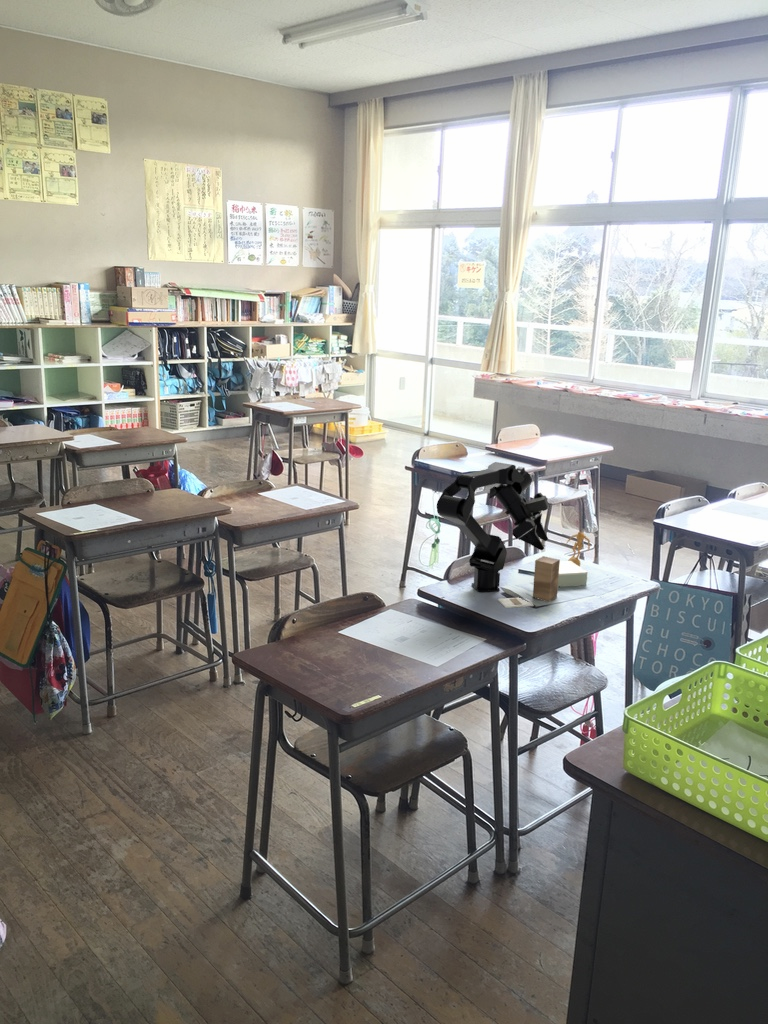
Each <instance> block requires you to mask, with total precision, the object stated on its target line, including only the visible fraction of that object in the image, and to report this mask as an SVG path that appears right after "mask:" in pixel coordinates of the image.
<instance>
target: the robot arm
mask: <svg viewBox="0 0 768 1024" xmlns="http://www.w3.org/2000/svg"><path fill="white" fill-rule="evenodd" d="M532 481H533V479H532V476H531V475H530V473H529V472H527V471H526V468H525V467H523V466H518V467H517V466H516V464H512V463H511V464H510V463H504V462H499V461H498V462H497V461H495V462H492V463H491V464H489V465H488V466H487V468H485V469H480V470H477V471H473V472H468V473H461V474H458V475H457V476H456V479H455V480H454V482H453V483H451V484H449V485H448V486H447V487H446V488H444V490H443V492H442V493H441V495H440V496H439V499H438V500H437V503H436V509H437V510H436V511H437V514H438V515H439V516H440V517H441V518H443V519H444V520H446V521H449V522H451V523H454V524H455V525H456V526H457V528H458V529H460V530H461V532H462V533H463V534H464V535H465V536H466V537H467V538H468V540H469V541H470V542H471V543H472V545H474V549H473V552H472V555H471V556H470V557H469V567H473V568H474V571H473V573H474V574H473V582H472V583H471V586H472V587H473V588H474V589H475V590H476V591H477V592H479V593H483V592H484V593H485V592H498V591H500V588H499V587H500V580H501V579H500V578H501V577H500V576H501V573H500V572H499V571H501V570H503V569H504V567H505V563H506V559H507V556H508V552H507V548H506V542H504V541H503V540H502V538H501V537H500V536H499V535H495V534H494V535H493V534H488V533H487V532H486V531H485V530H484V529H483V527H482V525H480V524H479V522H478V521H477V519H476V518H474V516H473V515H472V511H473V507H474V505H475V503H476V498H475V497H476V495H475V492H476V490H477V489H479V488H483V487H487V486H490V485H497V484H498V485H497V486H493V487H491V488H490V489H489V495H488V496H489V497H488V498H489V499H493V498H494V497H495V498H496V500H497V501H498V502H499V504H500V505H501V506H502V507H503V508H504V510H505V512H504V513H505V514H506V516H508V515H509V516H510V517H511V519H512V520H513V521H514V522H513V525H514V527H513V528H512V535H513V537H514V538H515V539H516V540H519V541H523V542H524V543H527V544H528V545H530V546H532V547H534V548H536V549H538V550H540V551H543V550H545V546H544V545H543V542H542V541H544V542H546V541H548V540H549V537H548V535H547V533H546V530H545V529H544V526H543V523H542V516H543V513H542V512H544V511H547V510H548V509H549V507H550V505H549V501H548V497H547V496H546V495H543V494H542V492H537V493H535V495H534V498H532V499H530V500H528V499H526V497H521V494H522V493H523V492H525V491H526V490H527V489H528V488H529V487H530V486H531V485H532V483H533V482H532ZM461 490H467V491H468V492H467V494H468V495H467V497H466V498H461V497H457V496H455V495H457V494H458V493H459V492H460V491H461Z"/></svg>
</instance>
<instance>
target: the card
mask: <svg viewBox="0 0 768 1024" xmlns="http://www.w3.org/2000/svg"><path fill="white" fill-rule="evenodd" d="M497 601H498V602H499V603H500V604H501V605H502V606H503V607H504V608H506V609H509V608H510V609H511V608H512V609H513V608H524V607H534V604H533V603H532V602H531V601H530V602H527V601H525V600H522V599H521V598H519V597H508V598H507V597H506V598H497Z"/></svg>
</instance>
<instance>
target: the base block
mask: <svg viewBox="0 0 768 1024" xmlns="http://www.w3.org/2000/svg"><path fill="white" fill-rule="evenodd" d="M587 583H588V571H587V570H585V569H583V567H581V566H580V567H579V566H578V565H576V564H575V563H573V562H572V561H568V560H560V564H559V576H558V588H559V586H560V587H577V586H578V587H579V586H587Z"/></svg>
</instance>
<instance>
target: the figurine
mask: <svg viewBox="0 0 768 1024" xmlns="http://www.w3.org/2000/svg"><path fill="white" fill-rule="evenodd" d="M573 538H576V542H574V545H573V547H572V548H571V549H572V552H573V554H572V556H571V557H570V558H569V559H568V560H567V561H572V562H573V563H575V564H576V565H578V566H579V567H581V561H580V559H579V557H580V553H581V549H582V547H583V545H584V544H583V543H582V542H583V540H585V541H587V546H588V547H587V550H588V551H589V550H591V549H590V547H591V546H590V545H591V543H590V542H591V540H590V538H588V537H587V536H586V535H585V533H584V532H582V531H578V532H577V533H576V534H573V535H572V536H570V538H568V540H567V541H566V543H565V545H567V544H568V542H570V541H571V540H572V539H573ZM576 549H577V552H576ZM576 553H577V556H575V555H576Z"/></svg>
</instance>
